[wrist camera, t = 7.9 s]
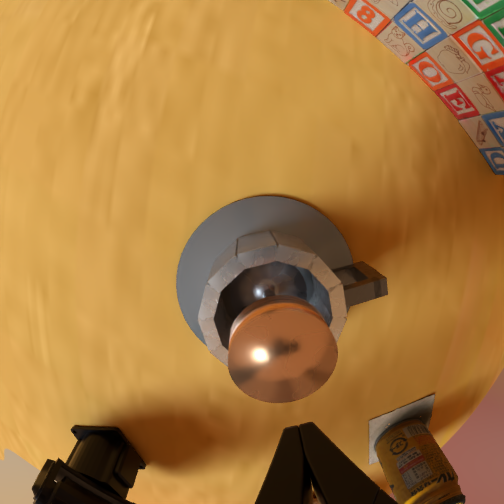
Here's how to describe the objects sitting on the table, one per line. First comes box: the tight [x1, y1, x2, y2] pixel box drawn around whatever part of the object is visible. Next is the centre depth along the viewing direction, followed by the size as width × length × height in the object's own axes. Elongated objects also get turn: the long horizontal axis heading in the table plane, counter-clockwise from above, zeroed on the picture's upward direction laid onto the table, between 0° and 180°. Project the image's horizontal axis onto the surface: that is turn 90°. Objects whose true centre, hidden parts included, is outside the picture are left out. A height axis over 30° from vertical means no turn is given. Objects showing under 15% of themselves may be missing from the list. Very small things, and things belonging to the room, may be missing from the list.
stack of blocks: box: [328, 0, 504, 175], centre depth 11 cm, size 21×6×12 cm, turn 51°
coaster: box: [176, 196, 355, 346], centre depth 20 cm, size 12×12×1 cm
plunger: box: [228, 261, 338, 403], centre depth 15 cm, size 5×5×8 cm
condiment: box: [369, 394, 465, 504], centre depth 18 cm, size 7×8×12 cm
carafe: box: [198, 230, 388, 367], centre depth 17 cm, size 10×8×5 cm
